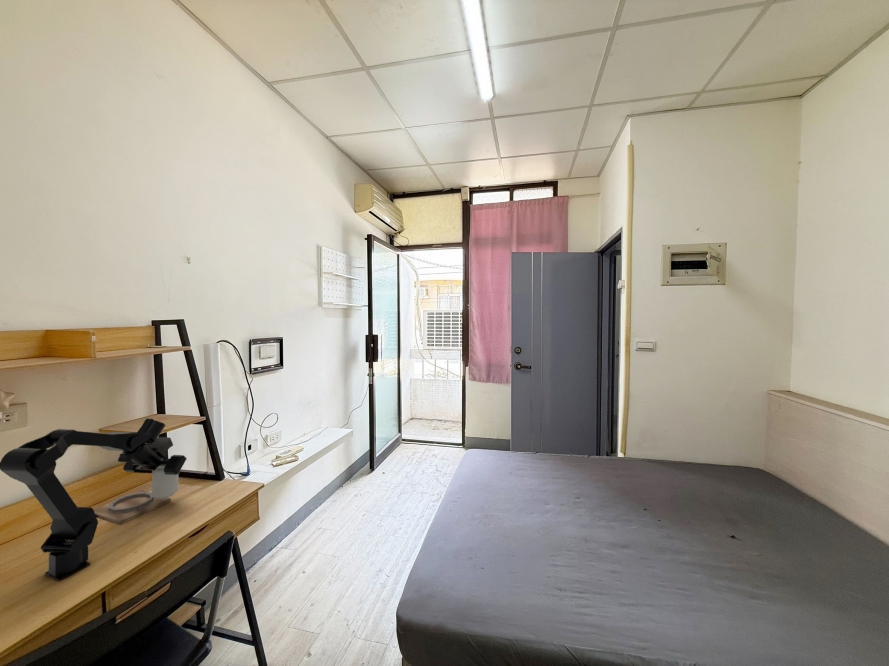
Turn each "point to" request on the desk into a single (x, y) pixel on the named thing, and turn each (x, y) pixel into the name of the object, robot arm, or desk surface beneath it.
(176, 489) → the can
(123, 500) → the collar board
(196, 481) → the desk surface
